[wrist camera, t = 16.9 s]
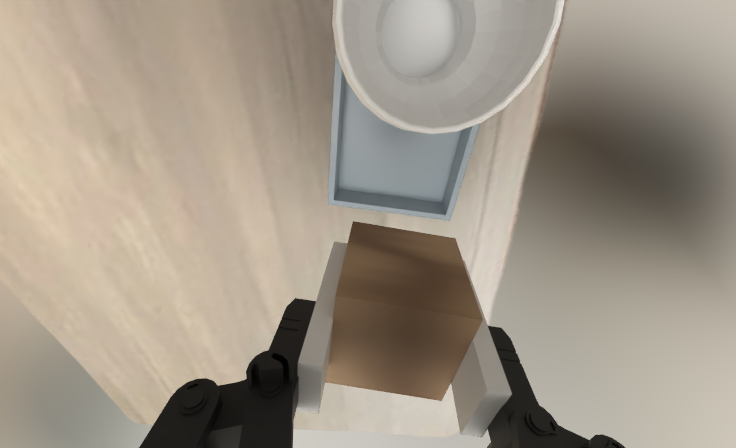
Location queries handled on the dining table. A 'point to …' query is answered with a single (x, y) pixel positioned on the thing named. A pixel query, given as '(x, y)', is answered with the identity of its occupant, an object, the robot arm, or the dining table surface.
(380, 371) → the walnut cube
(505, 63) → the cup
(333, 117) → the tray
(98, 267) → the dining table surface
